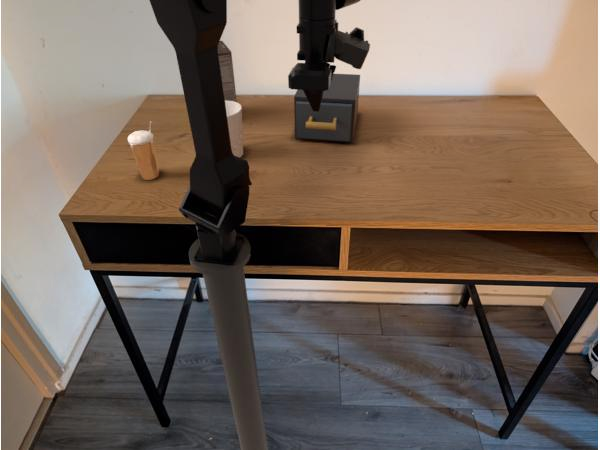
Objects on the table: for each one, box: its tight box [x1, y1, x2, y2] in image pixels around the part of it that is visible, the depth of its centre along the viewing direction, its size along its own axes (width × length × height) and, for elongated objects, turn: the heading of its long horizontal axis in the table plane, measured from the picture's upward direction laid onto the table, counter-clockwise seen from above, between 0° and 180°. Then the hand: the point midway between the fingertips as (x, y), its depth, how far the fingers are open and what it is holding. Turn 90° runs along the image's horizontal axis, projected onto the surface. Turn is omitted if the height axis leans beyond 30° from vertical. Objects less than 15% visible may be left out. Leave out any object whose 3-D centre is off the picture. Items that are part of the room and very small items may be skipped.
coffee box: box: [218, 40, 238, 103], centre depth 100 cm, size 9×6×16 cm
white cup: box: [225, 101, 244, 158], centre depth 87 cm, size 8×8×10 cm
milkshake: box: [127, 121, 160, 181], centre depth 81 cm, size 5×5×10 cm
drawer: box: [296, 101, 352, 141], centre depth 93 cm, size 18×11×8 cm, turn 170°
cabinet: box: [293, 73, 361, 144], centre depth 96 cm, size 15×13×10 cm
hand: (316, 110), depth 77 cm, fingers closed
